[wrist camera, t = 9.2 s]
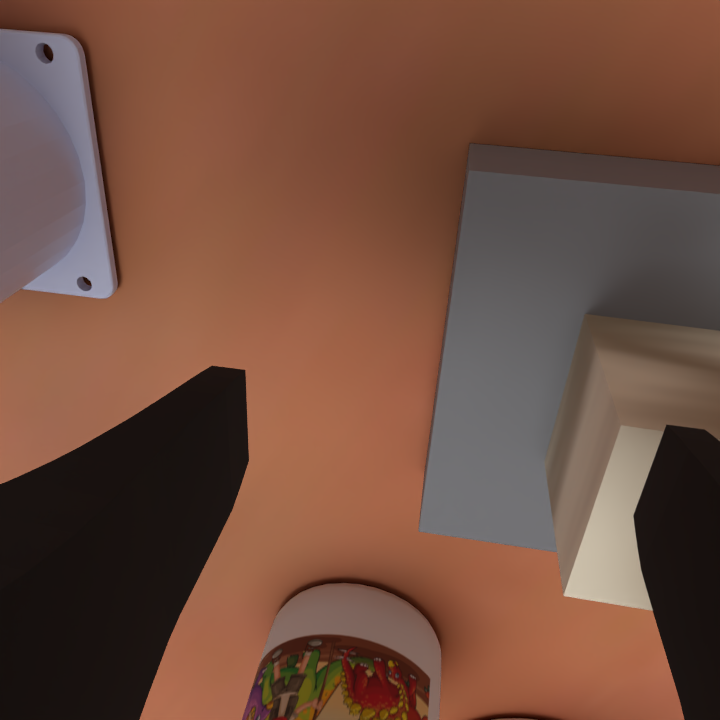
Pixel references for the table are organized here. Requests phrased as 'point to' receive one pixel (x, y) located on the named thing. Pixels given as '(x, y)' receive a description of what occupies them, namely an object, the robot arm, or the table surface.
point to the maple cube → (621, 443)
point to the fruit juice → (514, 719)
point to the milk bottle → (348, 659)
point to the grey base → (551, 314)
